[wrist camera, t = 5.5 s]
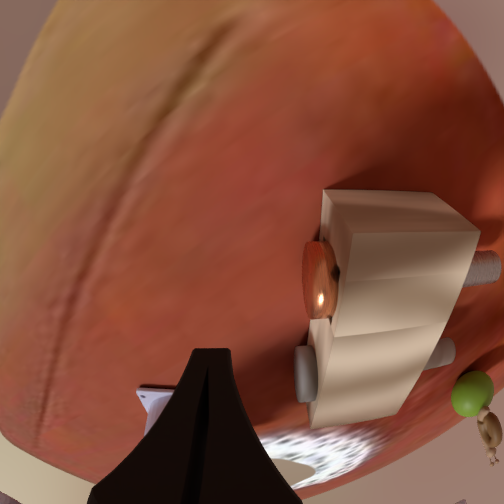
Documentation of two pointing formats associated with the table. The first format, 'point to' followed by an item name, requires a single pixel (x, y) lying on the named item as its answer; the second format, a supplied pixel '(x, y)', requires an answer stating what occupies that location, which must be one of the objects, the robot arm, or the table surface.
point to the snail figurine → (478, 407)
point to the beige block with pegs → (383, 302)
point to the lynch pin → (327, 276)
